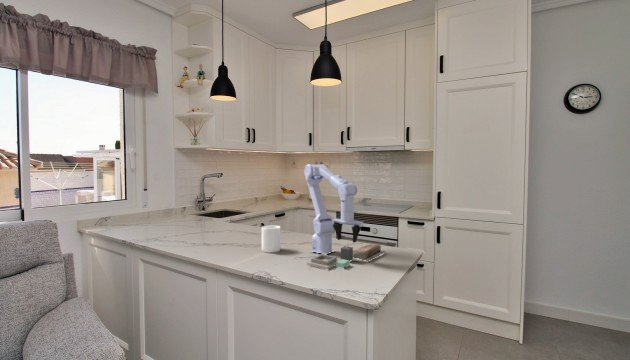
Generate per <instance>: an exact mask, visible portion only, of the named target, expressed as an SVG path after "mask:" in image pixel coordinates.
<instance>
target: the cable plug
mask: <svg viewBox="0 0 630 360" xmlns="http://www.w3.org/2000/svg"><path fill="white" fill-rule="evenodd" d="M340 259H341V258H340ZM347 265H349V266H350V263H349V260H344V259H341V260H339V261H337V262H336V266H335V268H336V267H341V268H344V267H346V266H347ZM341 268H340V269H341ZM346 268H347V267H346ZM344 269H345V268H344Z"/></svg>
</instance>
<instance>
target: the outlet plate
mask: <svg viewBox="0 0 630 360" xmlns="http://www.w3.org/2000/svg"><path fill="white" fill-rule="evenodd" d="M339 260H341V258H337V256H333V255H323V254H318V255H316V256H314V257H312V258H311V260H310V261H308V262H307V264H306V266H307V265H310V266H309V267H312V266H314V267H313V268H316V267H319V268H318V269H320V268H323V269H322V270H325V269H329V268H330V269H332V268H334V267H335V266H334V265H336V262H337V261H339ZM333 266H334V267H333ZM331 267H332V268H331ZM330 269H329V270H330Z"/></svg>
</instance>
